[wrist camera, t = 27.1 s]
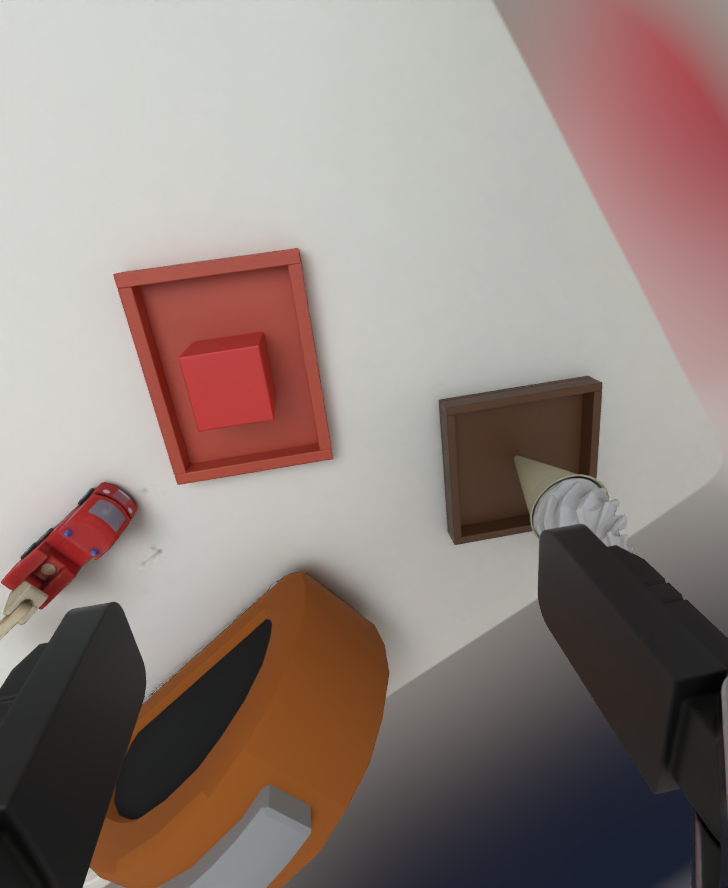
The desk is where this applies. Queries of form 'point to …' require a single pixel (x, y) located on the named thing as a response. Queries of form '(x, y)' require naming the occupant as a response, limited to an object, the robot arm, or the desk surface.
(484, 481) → the brown tray
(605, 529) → the ice cream cone
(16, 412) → the desk surface
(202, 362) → the red block
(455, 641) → the desk surface
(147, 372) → the red tray
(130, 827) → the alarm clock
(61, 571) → the toy fire truck
